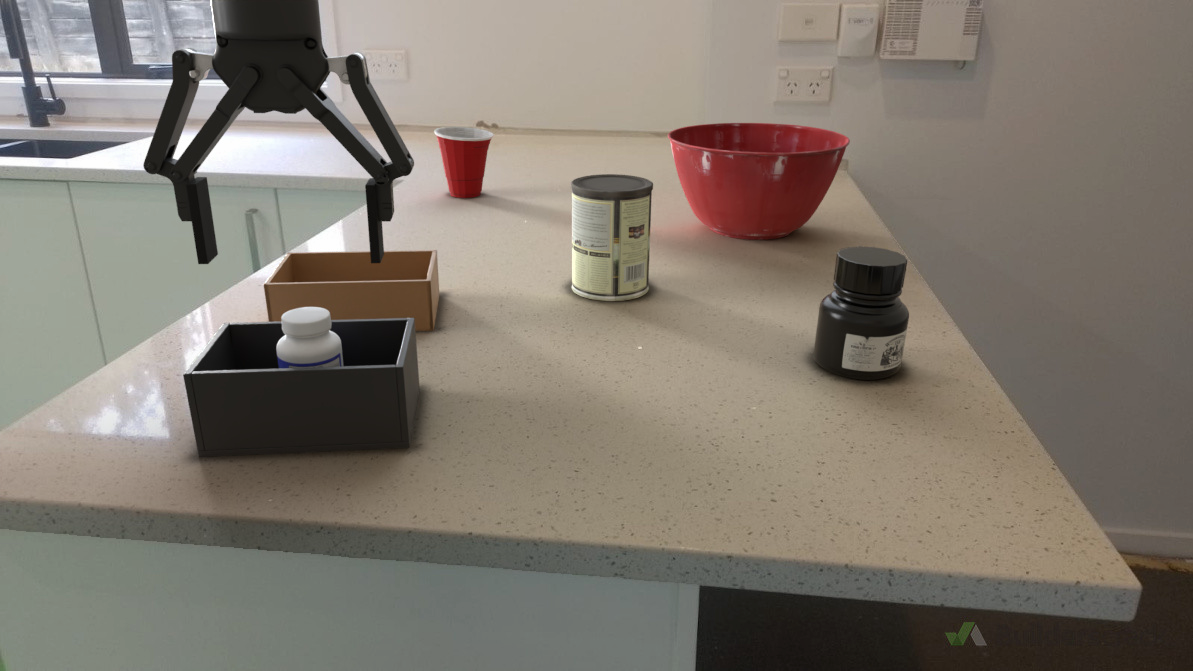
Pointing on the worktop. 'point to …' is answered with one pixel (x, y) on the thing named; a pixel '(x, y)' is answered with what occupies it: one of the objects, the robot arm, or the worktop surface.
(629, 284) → the coffee can
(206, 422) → the open box
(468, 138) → the plastic cup
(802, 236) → the worktop surface
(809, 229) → the worktop surface
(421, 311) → the carton
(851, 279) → the ink bottle
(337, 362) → the pill bottle
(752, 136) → the mixing bowl
